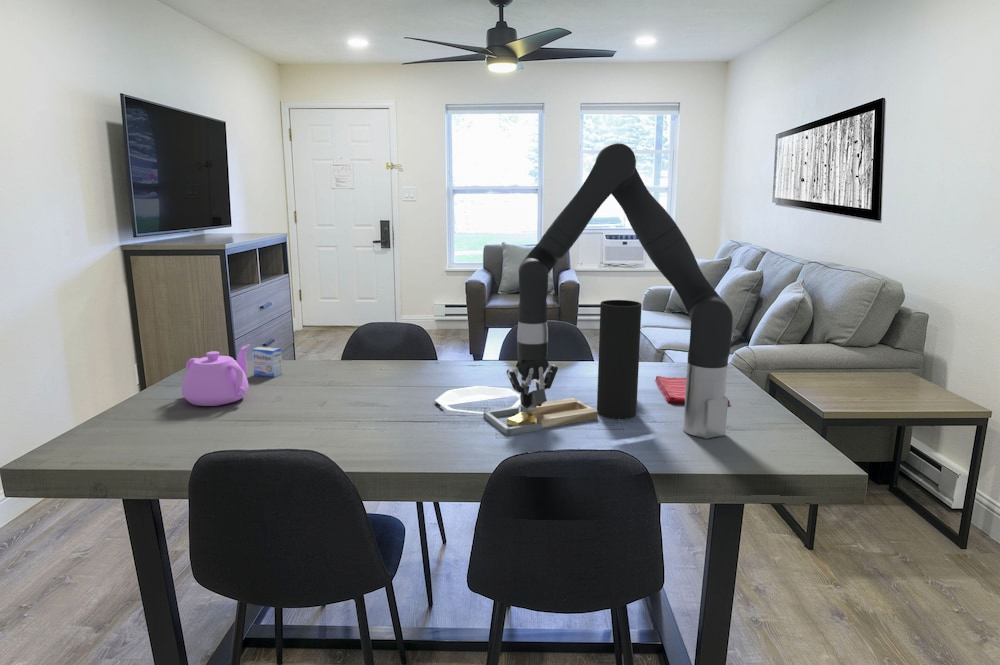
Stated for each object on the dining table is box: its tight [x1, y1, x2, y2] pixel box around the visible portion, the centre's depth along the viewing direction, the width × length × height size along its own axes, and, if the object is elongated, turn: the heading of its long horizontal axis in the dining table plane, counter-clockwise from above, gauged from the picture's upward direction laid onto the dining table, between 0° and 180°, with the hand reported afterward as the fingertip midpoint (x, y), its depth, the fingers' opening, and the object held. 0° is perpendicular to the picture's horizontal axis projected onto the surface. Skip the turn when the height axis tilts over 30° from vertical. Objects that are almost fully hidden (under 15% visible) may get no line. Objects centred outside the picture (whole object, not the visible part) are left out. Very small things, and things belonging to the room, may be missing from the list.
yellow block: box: [514, 411, 535, 425], centre depth 165 cm, size 4×3×2 cm
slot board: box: [520, 397, 599, 429], centre depth 169 cm, size 12×16×3 cm
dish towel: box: [654, 375, 731, 406], centre depth 193 cm, size 17×24×3 cm
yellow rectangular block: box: [506, 415, 527, 427], centre depth 163 cm, size 4×3×2 cm
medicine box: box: [251, 346, 283, 378], centre depth 210 cm, size 8×4×9 cm, turn 73°
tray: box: [483, 407, 543, 436], centre depth 164 cm, size 14×10×2 cm
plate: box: [434, 385, 521, 415], centre depth 183 cm, size 24×24×2 cm
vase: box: [596, 299, 643, 420], centre depth 169 cm, size 10×10×30 cm
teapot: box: [181, 343, 251, 407], centre depth 186 cm, size 22×22×14 cm
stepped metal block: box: [520, 389, 548, 412], centre depth 165 cm, size 4×3×9 cm
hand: (532, 405), depth 166 cm, fingers closed on stepped metal block, 3 cm apart
